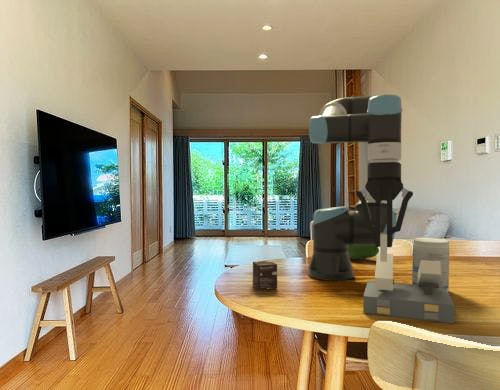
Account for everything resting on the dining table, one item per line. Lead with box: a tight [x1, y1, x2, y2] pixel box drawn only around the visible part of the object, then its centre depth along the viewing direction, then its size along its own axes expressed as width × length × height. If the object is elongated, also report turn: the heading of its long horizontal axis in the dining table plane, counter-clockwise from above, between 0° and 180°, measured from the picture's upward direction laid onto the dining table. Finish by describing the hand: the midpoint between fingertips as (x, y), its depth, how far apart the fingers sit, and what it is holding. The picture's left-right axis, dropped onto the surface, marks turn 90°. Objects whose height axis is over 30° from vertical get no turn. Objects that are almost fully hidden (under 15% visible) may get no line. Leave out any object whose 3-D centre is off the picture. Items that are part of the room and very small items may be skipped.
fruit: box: [348, 245, 380, 261], centre depth 153 cm, size 15×10×10 cm, turn 47°
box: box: [252, 260, 278, 290], centre depth 110 cm, size 6×6×7 cm
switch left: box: [374, 252, 394, 291], centre depth 93 cm, size 4×14×3 cm, turn 158°
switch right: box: [418, 260, 441, 283], centre depth 89 cm, size 4×14×3 cm, turn 158°
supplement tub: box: [411, 237, 450, 293], centre depth 106 cm, size 10×10×15 cm
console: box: [362, 279, 455, 324], centre depth 91 cm, size 19×16×7 cm
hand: (383, 260), depth 88 cm, fingers closed
